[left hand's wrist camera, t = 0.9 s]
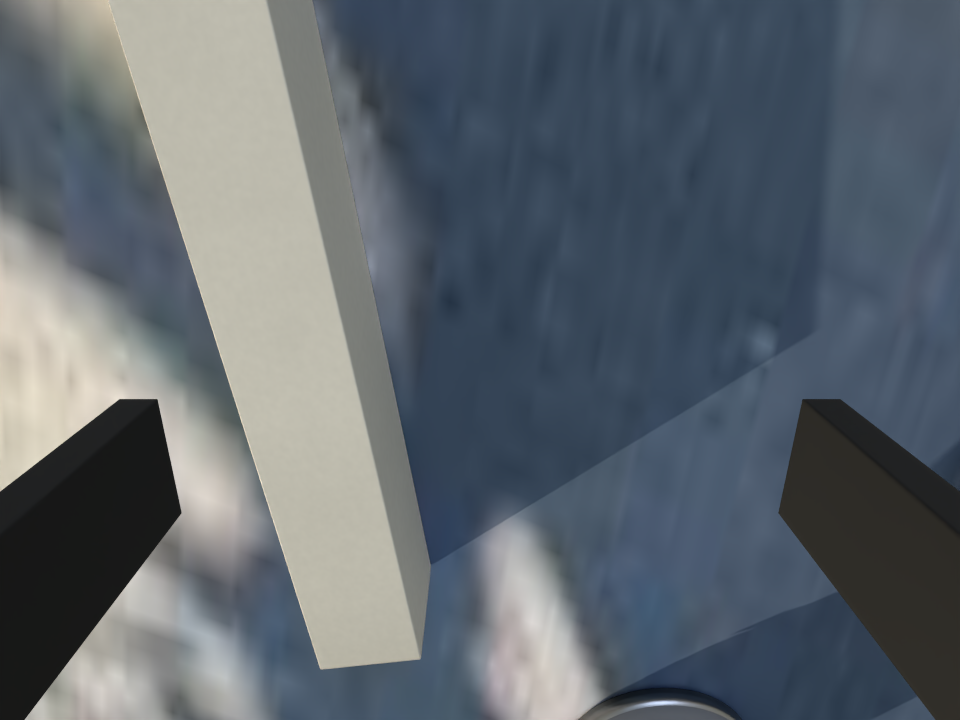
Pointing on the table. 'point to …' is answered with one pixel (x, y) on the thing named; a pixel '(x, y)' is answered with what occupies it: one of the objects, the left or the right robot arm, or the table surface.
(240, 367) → the beam
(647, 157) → the table surface
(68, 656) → the left robot arm
